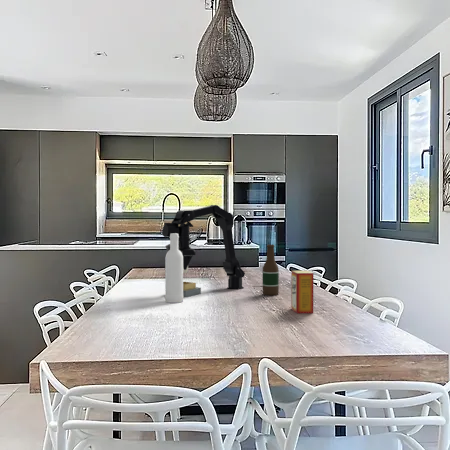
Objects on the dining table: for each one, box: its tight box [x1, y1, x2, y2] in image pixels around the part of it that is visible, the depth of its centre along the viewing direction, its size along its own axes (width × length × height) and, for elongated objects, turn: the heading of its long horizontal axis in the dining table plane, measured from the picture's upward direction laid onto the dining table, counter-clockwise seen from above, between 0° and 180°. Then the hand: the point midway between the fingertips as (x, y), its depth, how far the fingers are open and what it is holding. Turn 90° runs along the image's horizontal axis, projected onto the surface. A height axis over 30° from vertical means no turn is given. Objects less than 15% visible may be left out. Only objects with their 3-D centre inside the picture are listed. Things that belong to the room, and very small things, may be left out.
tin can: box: [183, 266, 189, 274], centre depth 233 cm, size 5×5×7 cm
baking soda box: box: [290, 269, 314, 314], centre depth 193 cm, size 10×6×16 cm
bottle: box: [164, 233, 184, 304], centre depth 214 cm, size 8×8×30 cm
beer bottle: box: [262, 244, 280, 297], centre depth 233 cm, size 8×8×24 cm
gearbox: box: [183, 281, 202, 298], centre depth 233 cm, size 14×12×6 cm
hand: (183, 269), depth 233 cm, fingers closed on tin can, 4 cm apart
